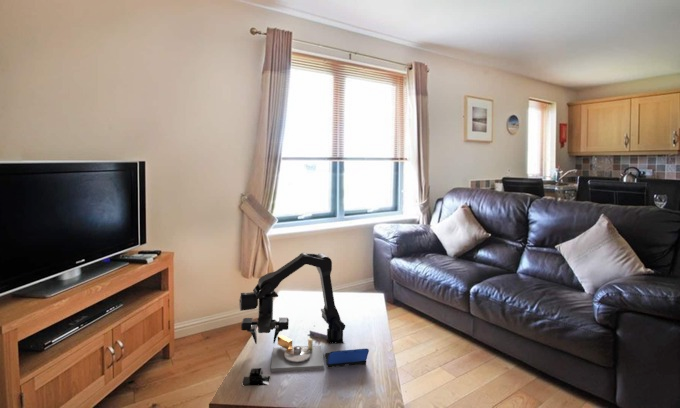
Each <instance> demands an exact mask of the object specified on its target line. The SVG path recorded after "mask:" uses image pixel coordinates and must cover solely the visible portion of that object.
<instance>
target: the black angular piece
mask: <svg viewBox="0 0 680 408" xmlns="http://www.w3.org/2000/svg"><path fill="white" fill-rule="evenodd" d="M263 374H264V373H263V370H262V368H257V367H256V368H253V367H252V368H251V369H250V372H249V376H244V377H243V379H242V383H243V385H244V386H243V387H249V386H251V387H256V386H260V387H261V386H269V385H270V384H269V383H270V378H271V376H270V375H263Z"/></svg>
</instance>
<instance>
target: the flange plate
mask: <svg viewBox="0 0 680 408" xmlns="http://www.w3.org/2000/svg"><path fill="white" fill-rule="evenodd" d="M277 345H278V346H280V347H284V348H285V349H287V350H286V351H285V353H284V357H285V359H286V360H287V361H289V362H292V363H301V362H304V361H307V360H308V359H309V358H310V356H311V351H310V350H309V349H308V348H306V347H303V346H304V345H303V346H302V345H295V346H294V345H293V339H291V338H288V337H287V336H284V335H283V334H280V335H277Z"/></svg>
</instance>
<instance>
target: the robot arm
mask: <svg viewBox="0 0 680 408" xmlns="http://www.w3.org/2000/svg"><path fill="white" fill-rule="evenodd" d="M332 264H333V262H332V259H331V258H330V257H329V256H327V255H326V254H325V253H318V254H316V253H307V252H301V253H300V254H298V255H297V256H296V257H295V258H293V259H292V260H290V261H288V262H287V263H285V264H284V265H283V266H281V267H280V268H278V269H277V270H275V271H273V272H269V273H266V274H264V275H261V276H260V277H259V278H258V281H257V284H256V285H255V287H254V288H253V290H252V292H240V295H239V296H240V297H239V299H238V301H239V304H238V305H239V311H240V312H241V311H250V310H255V309H257V307H258V318H257V320H254V318H253V317H243V319H242V321H241V324H240V325H241V328H240V330H241V331H247V332H248V333H250V334H251V335H252V338H253V341H254V343H255V344H256V345H257V343H258V335H257V333H258V334H269V333H271V330H274V332H273V333H274V334H273V344H275V343H276V340H277V339H278V336H279V333H280V332H283V331H285V330H286V331H287V330H289V324H290V323H289V321H290V320H289V317H279V318H278V320H277V319H273V318H274V316H273V315H274V298H278V297H279V294H278V293H277V292H276V291H275V290H276V289H277V288H278V287H279V285H280V284H281V283H282V282H283V281H284V280H285V279H287V278H288V277H290V276H291V275H293V273H295V272H296V271H298V270H300V269H301V268H303V267H304V266H305V265H309V266H312V267H315V268H316V269H317V271H318V274H319V277H320V284H321V290H322V297H323V304H324V306H323V308H320V311H321V318H322V319H323V321H325V323H326V324H327V326H328V328H327V329H326V338H327V342H328V343H329V344H344V330H345V329H346V324H345V323H344V322H343V321H342V320H341V316H340V314H339V311H338V309H337V307H336V304H335V298H334V292H333V285H332V278H331V274H332V272H333V271H332V269H333V265H332Z"/></svg>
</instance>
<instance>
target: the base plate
mask: <svg viewBox="0 0 680 408" xmlns="http://www.w3.org/2000/svg"><path fill="white" fill-rule="evenodd" d="M307 342H308V343H307V345H303V347H306V348H308V349H309V350H310V351H311V356H310V358H309V359H308V360H307V361H304V362H301V363H292V362H289V361H287V360H286V359H285V357H284V353H285V351H286V350H287V349H285V348H284V347H282V346H280V347H272V357H271V363H270V364H271V367H270V372H271V373H278V372H280V373H281V372H300V371H317V370H325V364H324V362H325V361H324V357H323V350H322V345H314V344H313V338H308V340H307Z"/></svg>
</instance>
